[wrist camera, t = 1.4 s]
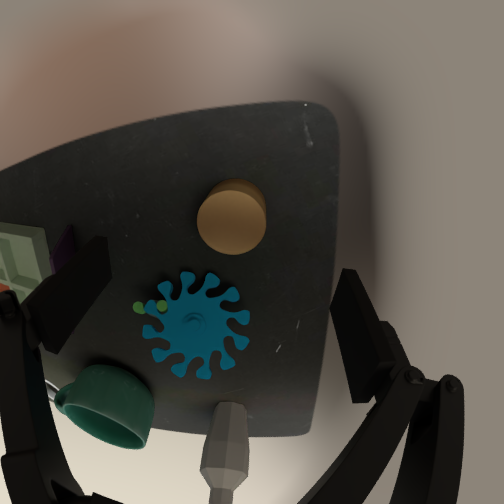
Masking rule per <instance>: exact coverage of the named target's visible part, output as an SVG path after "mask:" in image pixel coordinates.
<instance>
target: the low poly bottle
mask: <svg viewBox="0 0 504 504" xmlns="http://www.w3.org/2000/svg"><path fill="white" fill-rule="evenodd" d="M248 467H249V439H248V426H247V413H246V409H245V407H244V405H243V404H239V403H235V402H219V404H218V405H217V406H216V407H215V411H214V414H213V417H212V420H211V424H210V427H209V430H208V433H207V437H206V440H205V443H204V447H203V453H202V459H201V465H200V472H201V474H202V476H203V477H204V479H205V480H206V482H207V484H208V485H209V487H210V488H211V490H210V498H209V504H232V501H233V491H234V490H235V489H236V488H237V487H238V486H239V485H240V484H241V483H242V482H243V481H244V480H245V479H246V478H247V477H248Z"/></svg>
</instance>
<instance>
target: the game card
mask: <svg viewBox="0 0 504 504" xmlns="http://www.w3.org/2000/svg"><path fill="white" fill-rule="evenodd" d="M75 254H76V253H75V247H74V240H73V232H72V225H68V226H67V228H66V229H65V231H64V233H63V234H62V236H61V238H60V239H59V241H58V243H57V244H56V246H55V248H54V250H53V252H52V253H51V255H50V257H49V262H50V266H51V271H52V274H55V273H56V272H57V271H58V270H59V269H60V268H61V267H62V266H63V265H64V264H66V263H67V262H68V261H69V260H70V259H71V258H72V257H73V256H74V255H75ZM74 330H75V329H74ZM71 334H74V331H73V332H72V333H71Z"/></svg>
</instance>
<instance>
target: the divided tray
mask: <svg viewBox="0 0 504 504" xmlns="http://www.w3.org/2000/svg"><path fill="white" fill-rule="evenodd" d="M49 257H50V254H49V250H48V245H47V240H46V235H45V230H44V228H39V227H32V226H25V225H18V224H11V223H4V222H0V292H2V291H5V290H13V291H15V292H16V295H17V297H18V300H19V303H20V304H21V303H22V302H23V301H24V299H25V298H26V297H27V296H28V295H29V294H30V293H31V292H32V291H33V290H34V289H35V288H36V287H37V286H39V284H40V283H41V282H42V281H43V280H44V279H45V278H47V277H48V276H50V275H52V271H51V266H50V262H49Z"/></svg>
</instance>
